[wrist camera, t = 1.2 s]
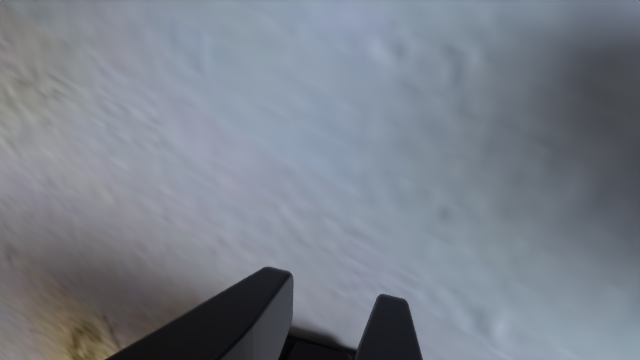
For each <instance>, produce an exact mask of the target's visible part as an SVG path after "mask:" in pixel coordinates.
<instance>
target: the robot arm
mask: <svg viewBox="0 0 640 360" xmlns="http://www.w3.org/2000/svg"><path fill="white" fill-rule="evenodd" d="M292 315H293V276H292V274H291V273H290V272H289V271H286V270H282V269H277V268H273V267H264V268H262V269H260V270H259V271H257V272H255V273H253V274H252V275H250V276H248V277H246V278H245V279H243V280H241V281H240V282H238V283H236V284H234V285H233V286H231V287H229V288H227V289H226V290H224V291H222V292H221V293H219V294H217V295H215V296H214V297H212V298H210V299H208V300H207V301H205V302H203V303H202V304H200V305H198V306H196V307H195V308H193V309H191V310H189V311H188V312H186V313H184V314H183V315H181V316H179V317H177V318H176V319H174V320H172V321H170V322H169V323H167V324H165V325H164V326H162V327H160V328H158V329H157V330H155V331H153V332H151V333H150V334H148V335H146V336H145V337H143V338H141V339H139V340H138V341H136V342H134V343H132V344H131V345H129V346H127V347H126V348H124V349H122V350H120V351H119V352H117V353H115V354H113V355H112V356H110V357H108V358H107V359H105V360H423V358H422V354H421V350H420V347H419V343H418V339H417V335H416V331H415V328H414V324H413V320H412V316H411V312H410V309H409V305H408V303H407V301H406V300H405V299H402V298H398V297H394V296H390V295H386V294H380V295H379V296H378V297H377V299H376V302H375V304H374V307H373V309H372V312H371V315H370V317H369V320H368V322H367V325H366V328H365V330H364V333H363V335H362V338H361V340H360V343H359V346H358V349H357V352H356V354H355V353H351V352H348V351H344V350H340V349H337V348H333V347H329V346H325V345H322V344H318V343H314V342H311V341H307V340H303V339H300V338H296V337H292V336H288V335H287V334H288V331H289V329H290V325H291V321H292Z"/></svg>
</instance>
